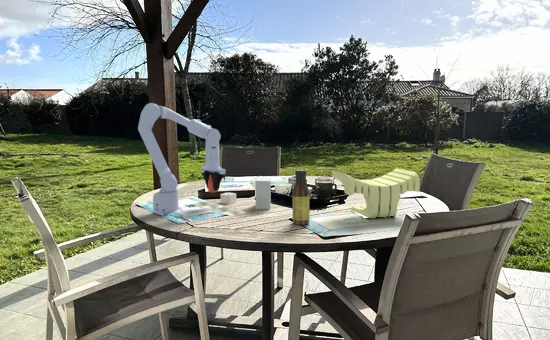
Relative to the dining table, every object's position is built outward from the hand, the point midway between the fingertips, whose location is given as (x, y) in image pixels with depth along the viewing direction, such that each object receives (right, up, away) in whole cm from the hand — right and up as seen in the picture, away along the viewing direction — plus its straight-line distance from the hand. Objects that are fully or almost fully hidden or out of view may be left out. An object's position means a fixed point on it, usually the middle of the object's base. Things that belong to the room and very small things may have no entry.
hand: (212, 189), depth 155 cm
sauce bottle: (+36, -12, -19) cm, 42 cm away
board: (+2, -9, -1) cm, 9 cm away
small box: (+21, -9, +2) cm, 23 cm away
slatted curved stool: (+66, -10, -5) cm, 67 cm away
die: (+5, -7, +10) cm, 13 cm away
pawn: (0, -1, 0) cm, 1 cm away
